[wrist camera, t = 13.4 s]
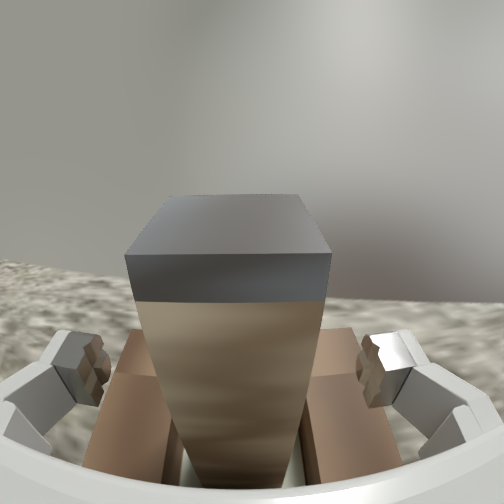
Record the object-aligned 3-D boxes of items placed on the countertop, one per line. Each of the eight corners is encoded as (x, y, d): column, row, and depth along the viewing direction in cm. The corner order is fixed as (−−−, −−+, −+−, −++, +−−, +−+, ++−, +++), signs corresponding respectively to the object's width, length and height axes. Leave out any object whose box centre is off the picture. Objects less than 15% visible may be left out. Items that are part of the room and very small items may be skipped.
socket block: (105, 552, 7) (64, 537, 5) (146, 372, 18) (131, 329, 16) (385, 551, 7) (424, 538, 5) (339, 371, 18) (351, 327, 17)
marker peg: (202, 487, 10) (124, 254, 5) (207, 428, 14) (169, 196, 8) (281, 487, 10) (331, 253, 5) (276, 427, 14) (297, 194, 8)
